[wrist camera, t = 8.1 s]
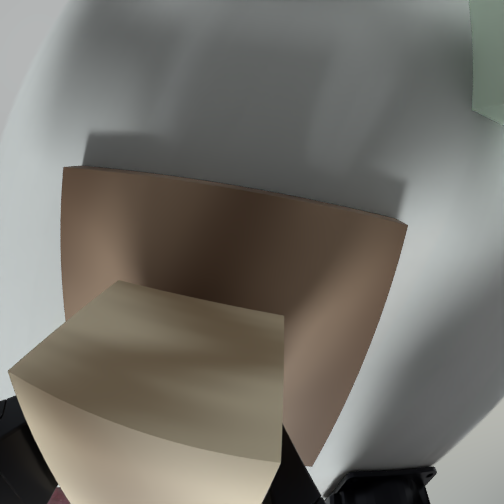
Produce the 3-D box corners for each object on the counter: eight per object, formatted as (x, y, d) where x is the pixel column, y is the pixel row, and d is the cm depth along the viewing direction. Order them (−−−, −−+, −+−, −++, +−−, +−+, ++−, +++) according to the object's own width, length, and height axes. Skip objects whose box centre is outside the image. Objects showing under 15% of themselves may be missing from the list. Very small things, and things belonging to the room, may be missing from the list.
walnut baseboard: (395, 218, 10) (408, 225, 9) (311, 449, 14) (311, 466, 12) (81, 165, 11) (63, 166, 10) (92, 397, 14) (82, 410, 13)
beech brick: (284, 315, 9) (281, 463, 4) (249, 446, 10) (232, 557, 6) (118, 279, 9) (7, 370, 4) (126, 415, 11) (73, 507, 6)
